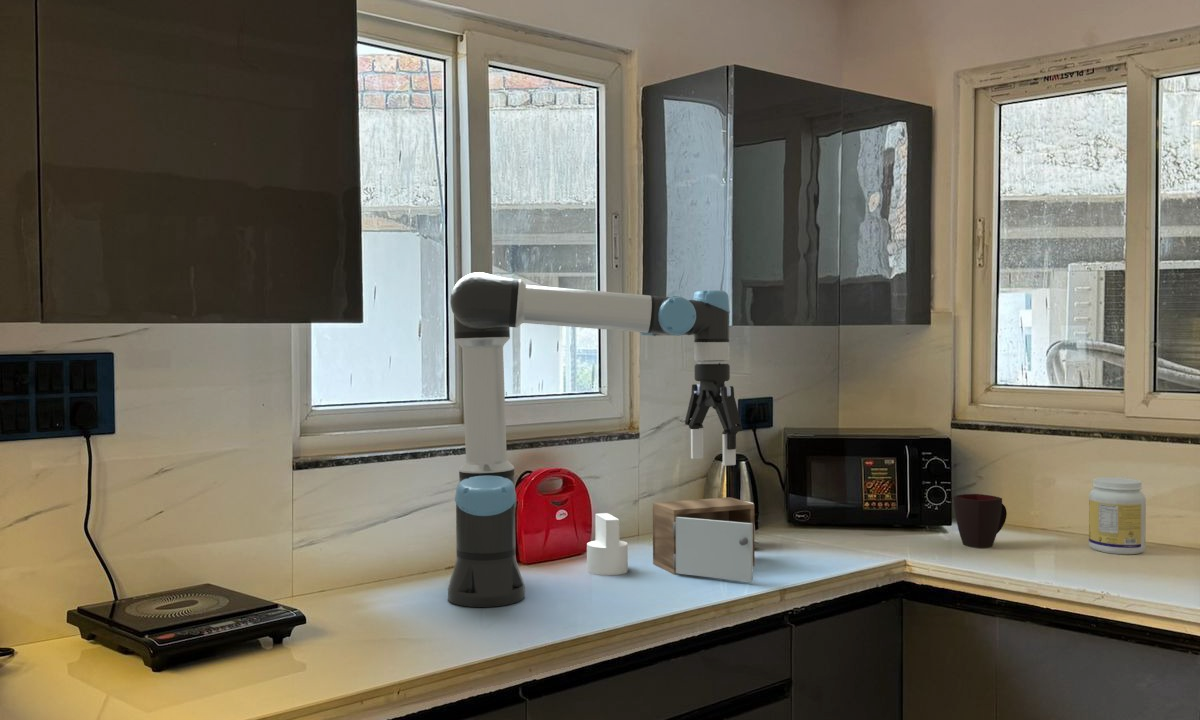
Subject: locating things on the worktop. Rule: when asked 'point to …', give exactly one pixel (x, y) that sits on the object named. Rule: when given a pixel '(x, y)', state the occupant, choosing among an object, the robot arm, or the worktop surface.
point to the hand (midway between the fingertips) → (712, 461)
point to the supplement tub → (1117, 516)
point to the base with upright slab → (607, 548)
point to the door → (713, 548)
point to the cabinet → (692, 509)
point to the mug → (979, 518)
